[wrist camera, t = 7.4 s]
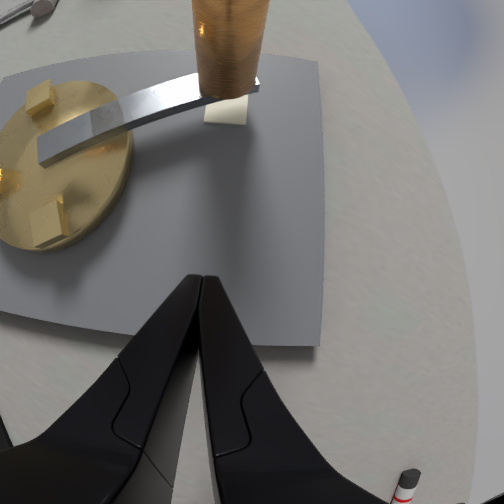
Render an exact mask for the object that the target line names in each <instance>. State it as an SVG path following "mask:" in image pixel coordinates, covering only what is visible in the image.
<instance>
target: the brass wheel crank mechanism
mask: <svg viewBox="0 0 504 504" xmlns="http://www.w3.org/2000/svg"><path fill="white" fill-rule="evenodd" d="M269 1H270V0H192V10H193V25H194V38H195V50H196V62H197V73H195V74H192V75H188V76H184V77H181V78H178V79H174V80H171V81H168V82H164V83H161V84H158V85H155V86H152V87H149V88H146V89H143V90H141V91H138V92H135V93H132V94H130V95H127V96H124V97H122V98H119V99H118V98H117V97H116V96H115V94H113V93H112V92H111V91H110V90H109V89H107V88H106V87H104V86H102V85H100V84H97V83H94V82H89V81H70V82H65V83H61V84H58V85H55V86H54V84H53V83H52V81H51V80H50V79H48V80H46V81H44V82H42V83H41V84H39V85H37V86H35V87H33V88H32V89H30V90H28V91H27V94H26V103H25V104H24V105H23V106H22V107H20V108H19V109H18V110H17V111H16V112H15V113H14V115H13V116H12V117H11V118H10V119H9V120H8V122H7V123H6V124H5V126H4V127H3V129H2V130H1V132H0V239H1V240H3V241H4V242H6V243H7V244H9V245H11V246H14V247H17V248H20V249H24V250H27V251H31V252H37V253H51V252H56V251H60V250H63V249H66V248H68V247H70V246H72V245H74V244H76V243H78V242H80V241H81V240H83V239H84V238H85V237H87V236H88V235H89V234H91V233H92V232H93V231H94V230H95V229H96V228H97V227H98V226H99V225H100V224H101V223H102V222H103V221H104V220H105V219H106V218H107V216H108V215H109V214H110V212H111V211H112V210H113V208H114V207H115V205H116V204H117V202H118V200H119V199H120V197H121V195H122V193H123V191H124V189H125V187H126V184H127V182H128V179H129V176H130V173H131V169H132V165H133V159H134V135H133V130H132V129H135V128H137V127H140V126H143V125H145V124H148V123H151V122H154V121H157V120H160V119H163V118H166V117H169V116H172V115H175V114H178V113H181V112H184V111H188V110H191V109H194V108H198V107H201V106H205V105H208V104H212V103H215V102H219V101H223V100H230V99H236V98H240V97H242V96H244V95H248V94H252V93H257V92H258V91H259V86H260V83H259V81H258V79H257V77H256V75H257V69H258V63H259V57H260V51H261V46H262V40H263V34H264V29H265V23H266V17H267V12H268V6H269Z"/></svg>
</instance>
